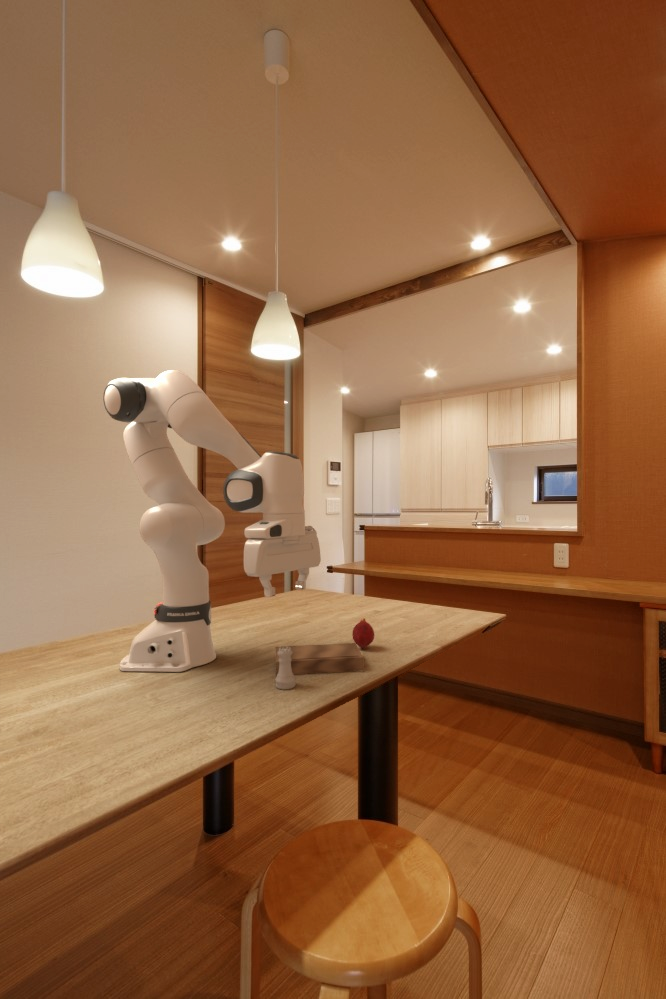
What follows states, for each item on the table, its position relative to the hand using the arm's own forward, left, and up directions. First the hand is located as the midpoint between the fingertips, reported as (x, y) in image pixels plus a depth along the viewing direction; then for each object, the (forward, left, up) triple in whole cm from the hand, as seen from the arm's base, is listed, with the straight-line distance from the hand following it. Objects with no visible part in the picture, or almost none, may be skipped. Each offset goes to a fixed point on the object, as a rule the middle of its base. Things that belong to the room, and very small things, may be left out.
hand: (285, 592), depth 104 cm
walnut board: (+8, +13, -20) cm, 25 cm away
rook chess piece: (0, 0, -20) cm, 20 cm away
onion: (+21, +24, -20) cm, 37 cm away
